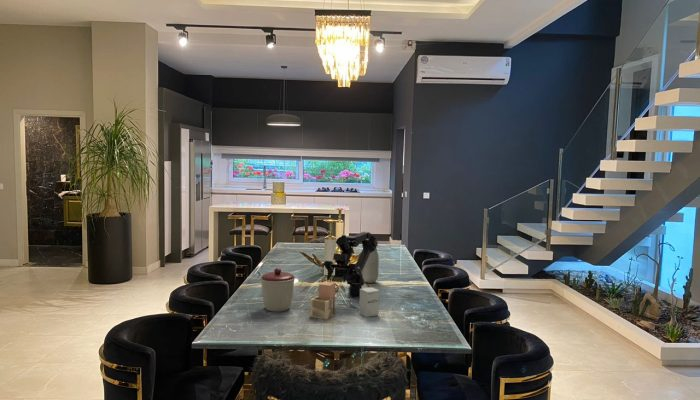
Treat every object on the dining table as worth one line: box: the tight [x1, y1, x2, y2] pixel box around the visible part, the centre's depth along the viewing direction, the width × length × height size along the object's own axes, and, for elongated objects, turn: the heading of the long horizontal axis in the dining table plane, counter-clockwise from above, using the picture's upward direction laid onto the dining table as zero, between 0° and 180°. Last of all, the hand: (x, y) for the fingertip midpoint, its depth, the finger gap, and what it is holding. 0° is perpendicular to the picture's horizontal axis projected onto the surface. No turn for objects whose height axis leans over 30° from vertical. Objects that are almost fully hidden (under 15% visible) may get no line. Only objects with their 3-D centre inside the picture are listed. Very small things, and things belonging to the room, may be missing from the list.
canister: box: [259, 267, 296, 313], centre depth 254 cm, size 18×18×21 cm
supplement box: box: [358, 286, 380, 318], centre depth 248 cm, size 7×7×13 cm
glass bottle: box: [362, 247, 380, 284], centre depth 310 cm, size 10×10×28 cm
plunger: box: [318, 281, 336, 311], centre depth 249 cm, size 6×6×14 cm
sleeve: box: [309, 295, 335, 320], centre depth 245 cm, size 8×9×9 cm
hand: (335, 280), depth 260 cm, fingers open, 9 cm apart
